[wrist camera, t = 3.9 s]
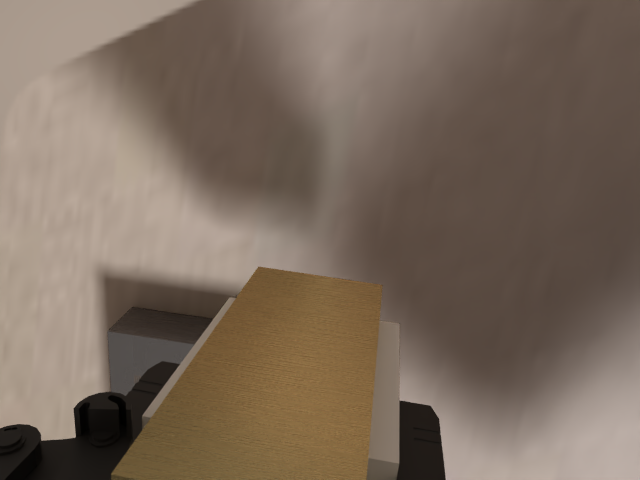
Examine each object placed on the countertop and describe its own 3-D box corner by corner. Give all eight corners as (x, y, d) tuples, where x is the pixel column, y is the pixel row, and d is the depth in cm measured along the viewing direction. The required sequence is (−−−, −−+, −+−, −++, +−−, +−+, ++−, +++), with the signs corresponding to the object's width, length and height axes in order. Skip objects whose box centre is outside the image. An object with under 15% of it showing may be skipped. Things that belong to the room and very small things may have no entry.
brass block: (382, 285, 18) (362, 525, 9) (366, 391, 19) (334, 695, 10) (258, 266, 18) (110, 474, 9) (252, 372, 20) (120, 644, 11)
